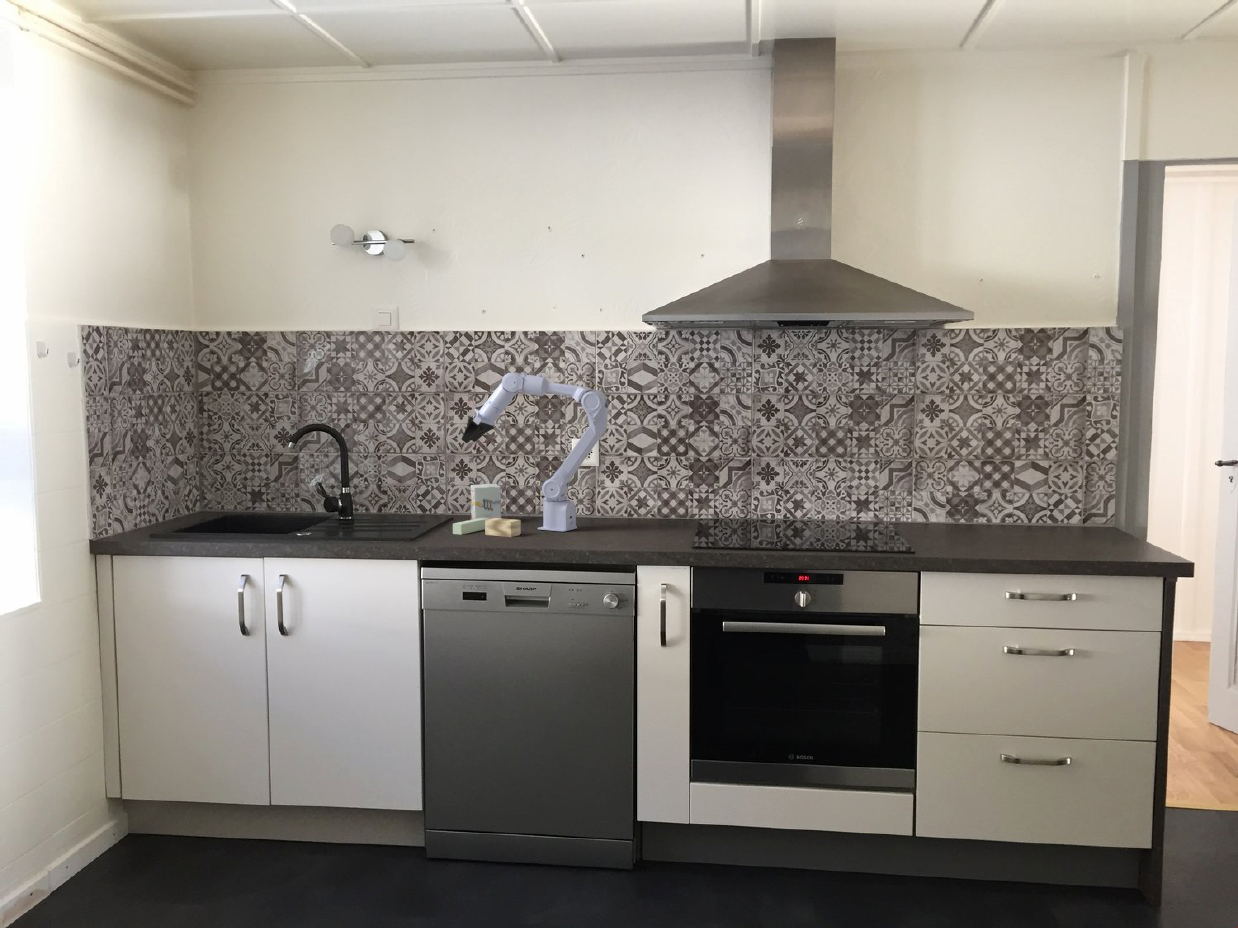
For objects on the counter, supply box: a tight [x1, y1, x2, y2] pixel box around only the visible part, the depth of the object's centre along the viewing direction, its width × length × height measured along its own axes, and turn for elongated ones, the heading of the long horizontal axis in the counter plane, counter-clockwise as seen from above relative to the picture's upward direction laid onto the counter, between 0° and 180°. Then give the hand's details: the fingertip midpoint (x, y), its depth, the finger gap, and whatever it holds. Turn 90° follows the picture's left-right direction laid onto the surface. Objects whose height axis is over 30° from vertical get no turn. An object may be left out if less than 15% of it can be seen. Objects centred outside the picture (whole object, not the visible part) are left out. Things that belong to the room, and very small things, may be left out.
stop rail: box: [452, 518, 489, 536], centre depth 292 cm, size 3×14×3 cm, turn 152°
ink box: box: [470, 483, 502, 520], centre depth 310 cm, size 9×9×12 cm
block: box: [484, 517, 522, 538], centre depth 286 cm, size 9×5×4 cm, turn 62°
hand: (468, 440), depth 298 cm, fingers open, 7 cm apart
